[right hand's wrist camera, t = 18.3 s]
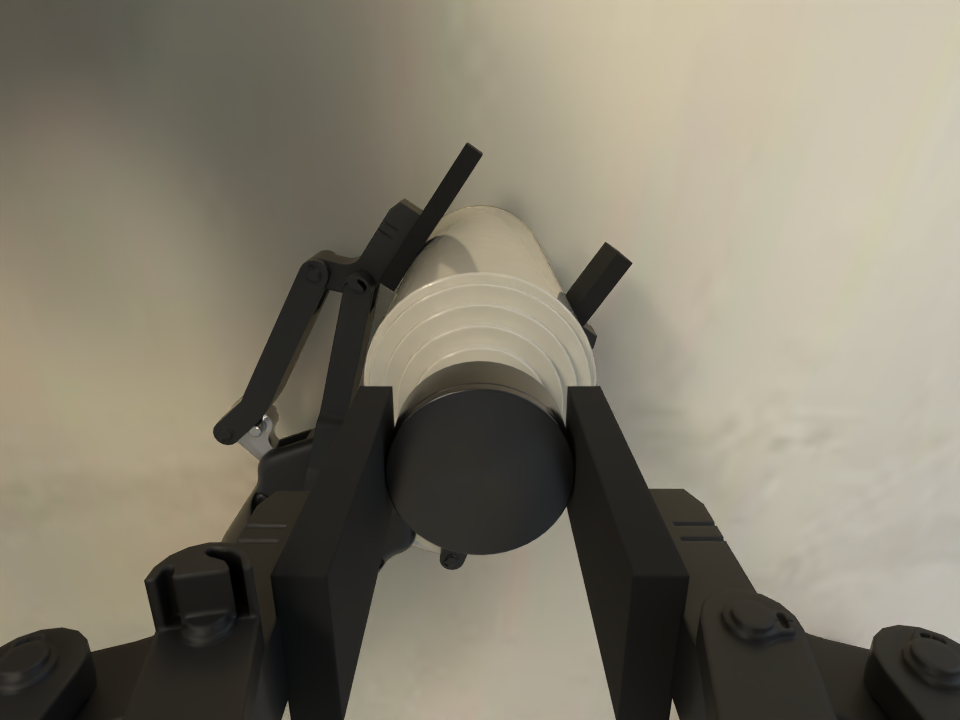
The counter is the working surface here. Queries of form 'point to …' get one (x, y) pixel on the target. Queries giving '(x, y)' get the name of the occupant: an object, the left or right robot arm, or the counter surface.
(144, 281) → the counter surface
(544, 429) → the cap
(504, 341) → the bottle
